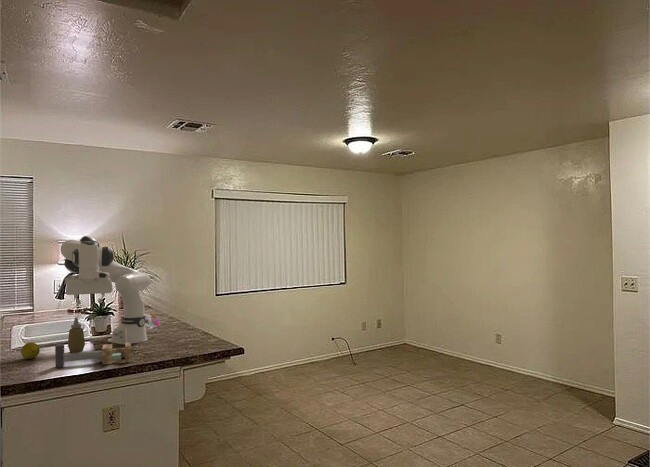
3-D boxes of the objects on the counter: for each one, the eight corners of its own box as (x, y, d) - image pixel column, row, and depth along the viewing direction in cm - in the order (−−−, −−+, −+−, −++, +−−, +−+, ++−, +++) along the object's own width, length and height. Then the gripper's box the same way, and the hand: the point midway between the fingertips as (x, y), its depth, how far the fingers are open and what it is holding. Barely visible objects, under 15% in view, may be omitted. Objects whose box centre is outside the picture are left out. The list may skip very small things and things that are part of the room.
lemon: (21, 357, 235) (20, 341, 235) (39, 355, 240) (39, 339, 240) (21, 362, 226) (20, 346, 226) (39, 360, 231) (39, 343, 231)
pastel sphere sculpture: (123, 325, 319) (123, 312, 319) (160, 323, 327) (160, 309, 327) (120, 333, 295) (120, 318, 295) (160, 329, 303) (160, 315, 303)
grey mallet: (55, 368, 215) (55, 346, 215) (57, 365, 219) (56, 344, 219) (109, 362, 223) (109, 341, 223) (110, 359, 228) (109, 339, 228)
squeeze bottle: (87, 349, 250) (87, 316, 250) (80, 353, 242) (80, 318, 242) (72, 350, 250) (72, 316, 250) (64, 354, 242) (64, 319, 242)
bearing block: (102, 364, 220) (102, 348, 220) (103, 360, 229) (103, 344, 229) (131, 361, 225) (130, 346, 225) (131, 357, 233) (130, 342, 233)
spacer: (111, 363, 224) (111, 355, 224) (112, 360, 228) (112, 353, 228) (121, 362, 225) (121, 354, 225) (121, 359, 230) (121, 352, 230)
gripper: (63, 276, 219) (64, 305, 219) (112, 274, 227) (112, 302, 227) (65, 275, 224) (66, 304, 224) (112, 273, 232) (112, 301, 232)
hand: (89, 303), depth 226 cm, fingers open, 8 cm apart
